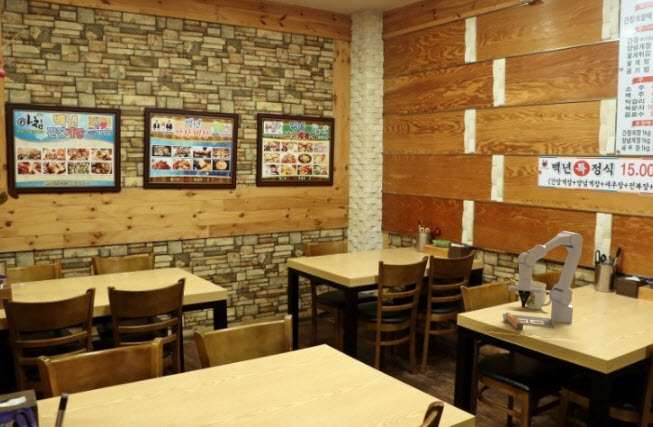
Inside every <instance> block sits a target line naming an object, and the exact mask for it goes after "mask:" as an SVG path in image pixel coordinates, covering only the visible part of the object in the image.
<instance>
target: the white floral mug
mask: <svg viewBox="0 0 653 427" xmlns="http://www.w3.org/2000/svg"><path fill="white" fill-rule="evenodd" d="M531 287H533V288H541V293H535V292H530V293H531V294H530V296H529V298H528V300H527V302H526V305H525V306H526V307H527V309H530V308H531V309H530V310H535V309H537V310H538V309H539V310H542V308H543V307H548V306H550V305H552V302H551V299H550V298H549V301H547V302H546V300H547V293H548V294H549V293H550V291H551V290H548V289H546V288H547V284H546V283H544V282H540V281H535V280H532V281H531Z"/></svg>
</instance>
